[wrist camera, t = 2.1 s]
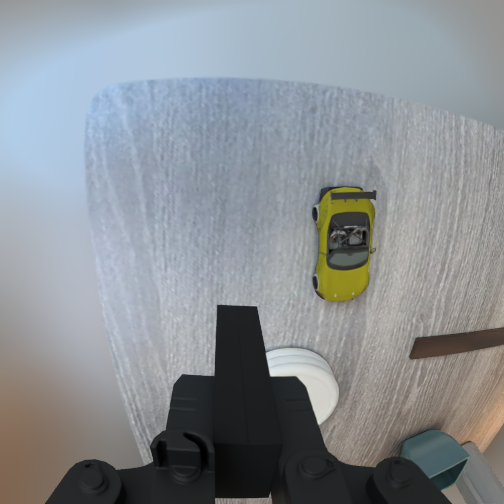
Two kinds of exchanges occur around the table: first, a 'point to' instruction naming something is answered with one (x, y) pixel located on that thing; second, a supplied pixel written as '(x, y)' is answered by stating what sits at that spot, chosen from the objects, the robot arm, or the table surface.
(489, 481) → the water bottle
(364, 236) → the sports car
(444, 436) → the flower pot
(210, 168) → the table surface
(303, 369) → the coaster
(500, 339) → the ruler
